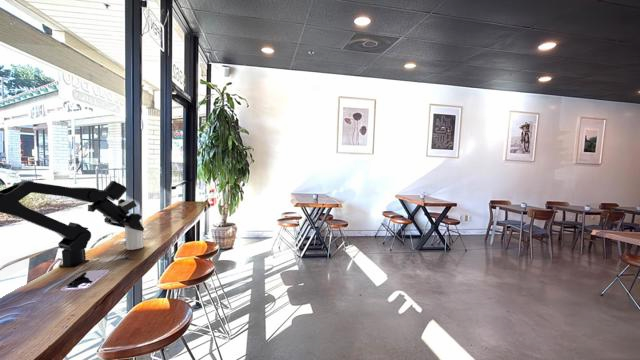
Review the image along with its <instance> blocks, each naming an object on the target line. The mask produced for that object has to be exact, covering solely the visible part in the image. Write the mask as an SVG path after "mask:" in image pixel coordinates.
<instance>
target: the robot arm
mask: <svg viewBox="0 0 640 360" xmlns="http://www.w3.org/2000/svg"><path fill="white" fill-rule="evenodd" d="M127 191H128V188H127V187H126V186H125V185H123V184H121V183H119V182H117V181H116V180H111V181H110V182H109V184H108V185H107V186H106V187H105V188H104V189H98V188H95V187H86V186H85V187H83V186H79V187H78V186H75V187H71V186H69V187H68V186H62V185H55V184H48V183H43V182H35V181H33V180H22V181H21V180H20V181H19V182H18V183H15V184H13V185H11V186H9V187H6V188H3V189H1V190H0V214H5V215H9V216H13V217H16V218H18V219H21V220H23V221H26V222H29V223H31V224H33V225H36V226H39V227H41V228H43V229H45V230H48V231H50V232H53V233H55V234H57V235H59V236H60V237H61V238H62V239H61V240H60V241H59V242H58V244H57V245H58V247H59V248H60V249H61V255H62V257H61V258H62V259H61V260H62V264H59V265H58V267H59V268H76V267H78V266H81V265H84V264H85V263H88V262H90V260H89V259H86V258H87V257H86V248H87V246H88V243H89V242H90V240H91V238H92V232H91V231H90V230H89V227H85V226H82V225H81V224H80V223H75V222H70V221H69V223H68V224H66V223H64V222H62V221H59V220H57V219H54V218H52V217H49V216H47V215H45V214H42V213H40V212H38V211H36V210H33V209H31V208H29V207H27V206H25V205H24V204H23V203H22V202H20V201H21V200H23V199H24V198H25V197H27V196H28V195H30V194H31V193H35V194H42V195H49V196H50V195H52V196H57V197H58V196H60V197H66V198H70V199H72V200H76V201H79V202H84V203H85V202H86V203H91V204H88V205H87V211H88V212H92V213H94V212H95V211H97V212H99V213H101V214H102V216H103V217H104V223H105V224H107V225H110V226H114V227H118V228H119V227H120V228H123V229H125V226H126V227H128V228H130V229H135V230H139V231H143V232H144V231H145V228H144V226H142V225H143V224H142V225H141V223H140V220H142V217H143V216H142V215H141V214H140V213H136V212H131V213H130V211H131V210H132V209H134V208H136V207H137V206H138V205H137V204H136V201H135V199H130V198H128V199H123V198H122V197H123V195H124V194H125V193H126V192H127ZM114 201H117V202H118V203H117V204H116V203H114ZM62 249H63V250H62Z"/></svg>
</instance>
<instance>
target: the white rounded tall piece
mask: <svg viewBox="0 0 640 360" xmlns="http://www.w3.org/2000/svg"><path fill="white" fill-rule="evenodd" d="M140 223H141V225H142V226H143V220H142V219H140ZM143 227H144V226H143ZM124 234H125V248H126V249H125V250H130V251H131V250H138V249H142V248H143V247H144V245H145V244H144V231H139V230H135V229H130V228H128V227H126V226H125V228H124Z"/></svg>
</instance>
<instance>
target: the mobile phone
mask: <svg viewBox="0 0 640 360" xmlns="http://www.w3.org/2000/svg"><path fill="white" fill-rule="evenodd" d="M109 272H110V271H109V269H100V270H99V269H98V270H88V271H85V272H84V273H82V274H81V275H80V274H79V276H78V277H76V278H74V279H73V280H72V281H70V282H69V283H67V284H66V285H64V286H63V287H62V288H60V291H61V292H65V291H77V290H86V289H89V288H90V287H91V286H92V285H94V284H96V282H97V281H99V280H101V278H103V277H104V276H105V275H106V274H108V273H109Z"/></svg>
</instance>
